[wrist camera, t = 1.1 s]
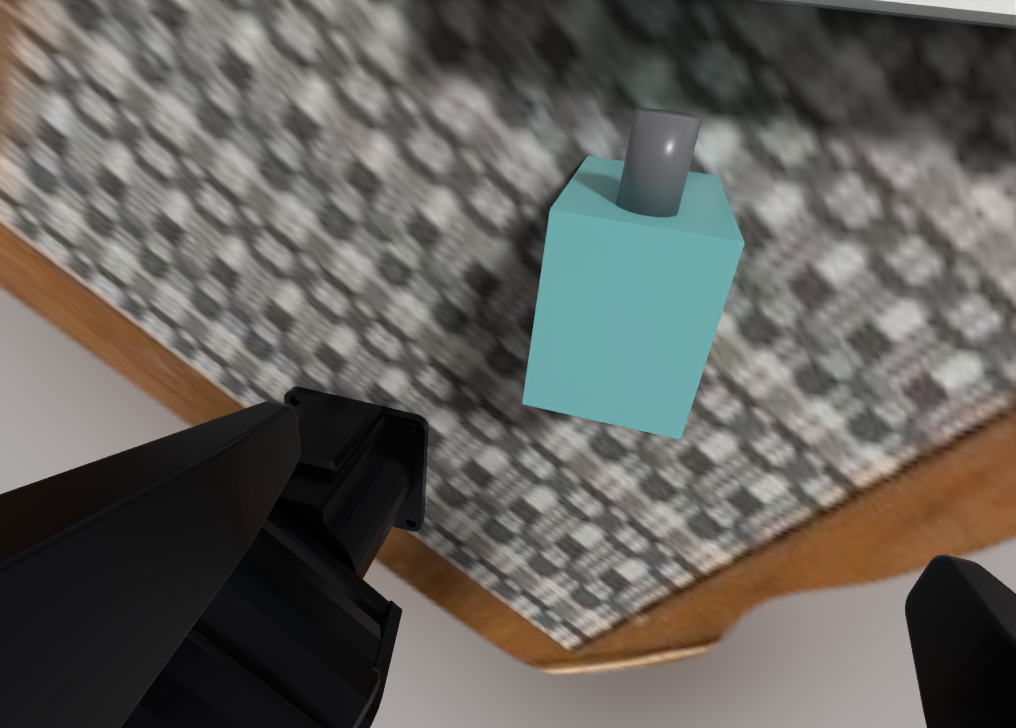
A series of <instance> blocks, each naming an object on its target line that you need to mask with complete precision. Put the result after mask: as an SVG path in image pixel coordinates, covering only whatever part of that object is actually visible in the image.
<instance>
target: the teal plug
mask: <svg viewBox="0 0 1016 728" xmlns="http://www.w3.org/2000/svg"><path fill="white" fill-rule="evenodd" d="M701 121H702V118H701V117H698V116H694V115H690V114H686V113H680V112H674V111H668V110H660V109H649V108H637V109H635V112H634V117H633V122H632V127H631V132H630V137H629V142H628V147H627V152H626V157H625V161H619V160H613V159H607V158H600V157H594V156H587V158H586V159H585V160H584V162H583V163H582V165H581V166H580V167H579V169H578V170H577V172H576V173H575V175H574V176H573V177H572V179H571V180H570V182H569V183H568V184H567V186H566V187H565V189H564V190H563V192H562V193H561V194H560V196H559V197H558V199H557V200H556V202H555V203H554V204H553V206H552V207H551V209H550V213H549V220H548V227H547V234H546V241H545V248H544V255H543V262H542V269H541V276H540V283H539V290H538V296H537V303H536V310H535V317H534V324H533V331H532V338H531V345H530V352H529V359H528V366H527V373H526V380H525V387H524V394H523V401H522V404H524V405H528V406H533V407H537V408H542V409H546V410H551V411H555V412H560V413H564V414H569V415H573V416H578V417H582V418H586V419H591V420H595V421H600V422H604V423H609V424H613V425H618V426H622V427H627V428H631V429H636V430H640V431H645V432H649V433H654V434H658V435H662V436H667V437H671V438H676V439H680V440H681V438H682V435H683V431H684V428H685V425H686V422H687V419H688V416H689V413H690V410H691V407H692V404H693V401H694V397H695V394H696V391H697V388H698V385H699V382H700V379H701V376H702V373H703V370H704V367H705V363H706V360H707V357H708V354H709V351H710V348H711V345H712V342H713V339H714V336H715V333H716V329H717V326H718V323H719V320H720V317H721V314H722V311H723V308H724V305H725V302H726V299H727V295H728V292H729V289H730V286H731V283H732V280H733V277H734V274H735V271H736V268H737V265H738V261H739V258H740V255H741V252H742V249H743V246H744V243H745V242H744V240H743V237H742V235H741V232H740V230H739V227H738V225H737V222H736V220H735V217H734V215H733V212H732V210H731V207H730V205H729V202H728V200H727V197H726V195H725V192H724V190H723V188H722V185H721V183H720V180H719V178H718V176H716V175H710V174H704V173H697V172H691V171H689V168H690V164H691V160H692V156H693V152H694V148H695V145H696V141H697V137H698V133H699V129H700V125H701Z"/></svg>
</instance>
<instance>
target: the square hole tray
mask: <svg viewBox="0 0 1016 728" xmlns="http://www.w3.org/2000/svg"><path fill="white" fill-rule="evenodd" d="M754 1H763V2H772V3H781V4H790V5H800V6H809V7H818V8H827V9H836V10H845V11H855V12H864V13H873V14H882V15H891V16H900V17H910V18H919V19H928V20H937V21H946V22H955V23H965V24H974V25H983V26H992V27H1001V28H1010V29H1016V0H754Z"/></svg>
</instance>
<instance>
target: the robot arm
mask: <svg viewBox="0 0 1016 728" xmlns="http://www.w3.org/2000/svg"><path fill="white" fill-rule="evenodd" d="M295 397H297V398H298V399H299V400H297V399H296V398H295ZM284 401H285V404H282V403H277V402H273V401H266V402H263V403H260V404H257V405H254V406H251V407H248V408H246V409H243V410H240V411H237V412H234V413H231V414H228V415H226V416H223V417H220V418H217V419H214V420H211V421H208V422H206V423H203V424H200V425H197V426H194V427H191V428H188V429H186V430H183V431H180V432H177V433H174V434H171V435H168V436H166V437H163V438H160V439H157V440H154V441H151V442H149V443H146V444H143V445H140V446H137V447H134V448H131V449H128V450H126V451H123V452H120V453H117V454H114V455H111V456H108V457H106V458H103V459H100V460H97V461H95V462H92V463H88V464H86V465H83V466H80V467H77V468H74V469H71V470H69V471H66V472H63V473H60V474H57V475H54V476H51V477H48V478H46V479H43V480H40V481H37V482H34V483H31V484H29V485H26V486H23V487H20V488H17V489H14V490H11V491H9V492H6V493H3V494H0V728H370V726H371V725H372V723H373V720H374V718H375V716H376V713H377V711H378V709H379V706H380V703H381V699H382V696H383V692H384V687H385V683H386V679H387V675H388V669H389V666H390V662H391V657H392V652H393V648H394V644H395V640H396V635H397V631H398V627H399V623H400V618H401V614H402V609H401V608H400V607H399V606H397V605H396V604H395V603H394V602H393V601H388V600H386V599H385V598H384V597H383V596H382V595H381V594H379V593H378V592H377V591H376V590H375V589H374V588H372V587H371V586H370V585H369V584H367V582H365V581H364V580H363V577H364V576H365V574H366V572H367V571H368V569H369V567H370V565H371V563H372V562H373V560H374V558H375V556H376V555H377V553H378V551H379V549H380V548H381V546H382V544H383V542H384V541H385V539H386V537H387V535H388V534H389V532H390V530H391V528H392V526H393V527H397V528H401V529H405V530H409V531H414V532H415V531H418V530H420V528H421V526H422V524H423V522H424V513H425V491H426V470H427V448H428V422H427V421H426V419H425V418H423V417H422V416H420V415H417V414H413V413H409V412H404V411H400V410H396V409H392V408H387V407H383V406H379V405H375V404H371V403H367V402H363V401H358V400H354V399H350V398H345V397H341V396H337V395H333V394H328V393H323V392H319V391H314V390H310V389H306V388H301V387H293V388H291V389H290V390H289V391H288V392H287V393H286V394H285V397H284ZM412 424H414V425H416V426H418V428H419V429H416V428H414V427H413V426H412ZM412 520H413V521H412ZM414 521H415V522H414ZM905 615H906V621H907V626H908V631H909V636H910V642H911V648H912V653H913V658H914V664H915V669H916V674H917V680H918V685H919V690H920V696H921V700H922V707H923V712H924V717H925V721H926V725H927V728H1016V593H1014V592H1013V591H1012V590H1011V589H1009V588H1008V587H1007V586H1006V585H1004V584H1003V583H1002V582H1001V581H999V580H998V579H997V578H996V577H994V576H993V575H992V574H991V573H990V572H988V571H987V570H986V569H985V568H983V567H982V566H980V565H979V564H978V563H975V562H973V561H970V560H966V559H961V558H957V557H952V556H948V555H938V556H936V557H934V558H933V559H932V560H931V561H930V562H929V564H928V565H927V567H926V568H925V570H924V571H923V573H922V574H921V576H920V577H919V579H918V580H917V582H916V584H915V585H914V586H913V588H912V589H911V591H910V592H909V594H908V596H907V599H906V604H905Z"/></svg>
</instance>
